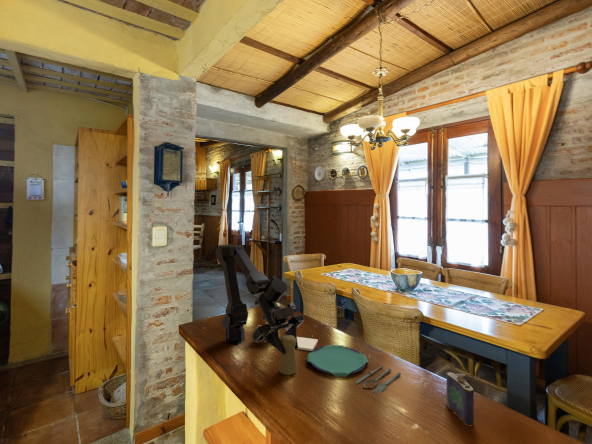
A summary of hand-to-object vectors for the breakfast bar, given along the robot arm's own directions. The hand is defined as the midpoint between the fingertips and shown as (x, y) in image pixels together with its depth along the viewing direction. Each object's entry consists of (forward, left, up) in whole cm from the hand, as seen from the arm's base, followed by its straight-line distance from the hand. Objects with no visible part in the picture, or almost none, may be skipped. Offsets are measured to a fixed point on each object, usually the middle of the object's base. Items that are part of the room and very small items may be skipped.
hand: (291, 351), depth 99 cm
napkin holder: (-17, +21, -8) cm, 28 cm away
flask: (+48, -5, -8) cm, 49 cm away
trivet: (-2, +23, -8) cm, 24 cm away
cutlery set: (+17, +10, -8) cm, 22 cm away
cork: (-1, +1, -7) cm, 7 cm away
